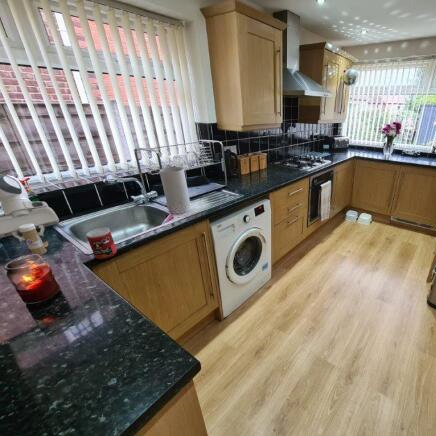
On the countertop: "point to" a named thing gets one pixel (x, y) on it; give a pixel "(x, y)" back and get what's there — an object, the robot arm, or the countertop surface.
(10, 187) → the robot arm
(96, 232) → the canned food
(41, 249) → the sprinkles bottle
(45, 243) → the cork coaster
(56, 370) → the countertop surface
